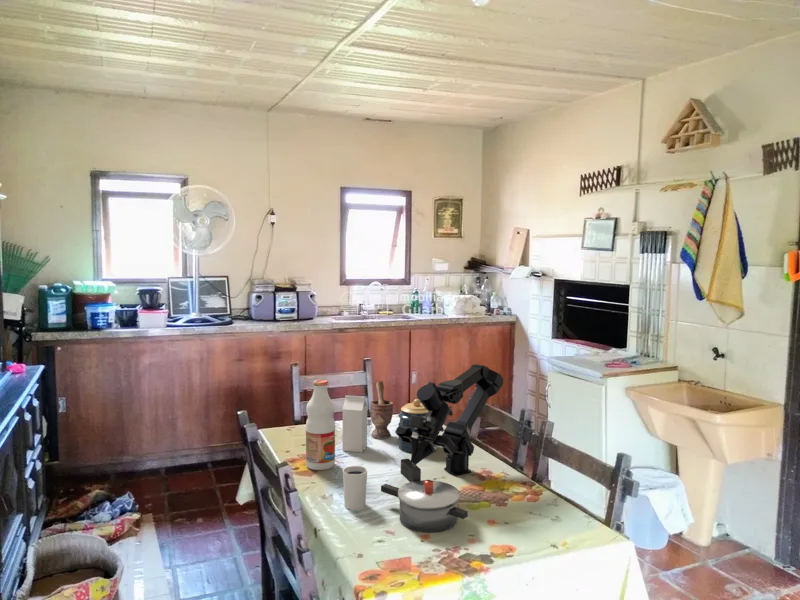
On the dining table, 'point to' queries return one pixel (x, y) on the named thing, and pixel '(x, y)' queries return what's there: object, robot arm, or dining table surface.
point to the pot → (426, 515)
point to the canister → (405, 416)
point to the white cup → (354, 487)
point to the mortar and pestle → (381, 414)
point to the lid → (425, 490)
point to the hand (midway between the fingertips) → (412, 465)
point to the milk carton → (354, 424)
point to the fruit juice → (320, 429)
